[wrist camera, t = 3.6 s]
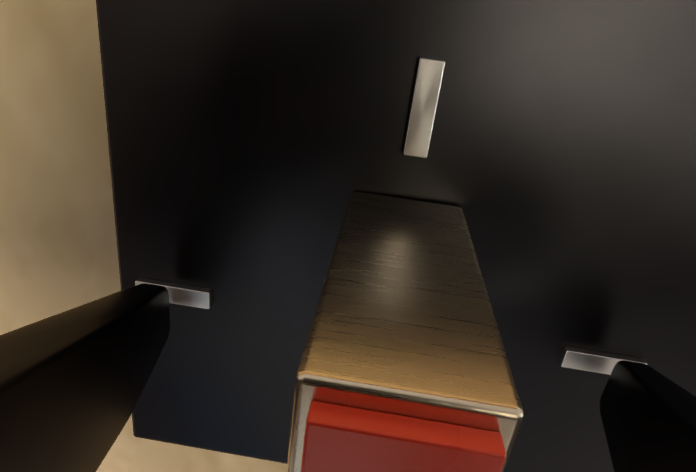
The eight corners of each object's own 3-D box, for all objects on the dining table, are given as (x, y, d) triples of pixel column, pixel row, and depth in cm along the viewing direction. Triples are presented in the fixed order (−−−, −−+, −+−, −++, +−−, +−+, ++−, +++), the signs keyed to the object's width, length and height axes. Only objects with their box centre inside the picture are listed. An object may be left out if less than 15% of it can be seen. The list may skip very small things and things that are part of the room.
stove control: (619, 443, 13) (679, 561, 10) (187, 370, 14) (130, 463, 11) (825, 16, 9) (1028, 16, 6) (177, -66, 9) (77, -103, 6)
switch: (409, 435, 10) (413, 760, 6) (321, 420, 10) (257, 729, 6) (463, 205, 8) (537, 439, 3) (351, 188, 8) (287, 397, 4)
